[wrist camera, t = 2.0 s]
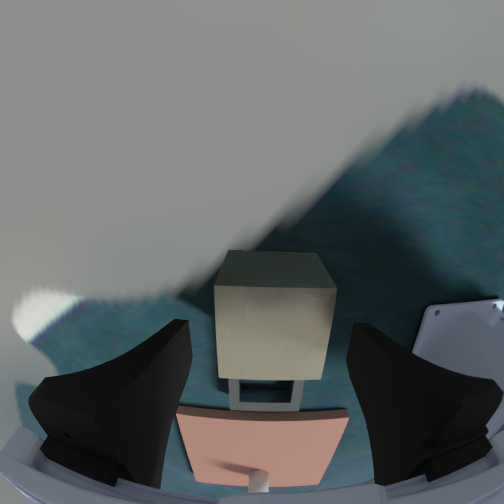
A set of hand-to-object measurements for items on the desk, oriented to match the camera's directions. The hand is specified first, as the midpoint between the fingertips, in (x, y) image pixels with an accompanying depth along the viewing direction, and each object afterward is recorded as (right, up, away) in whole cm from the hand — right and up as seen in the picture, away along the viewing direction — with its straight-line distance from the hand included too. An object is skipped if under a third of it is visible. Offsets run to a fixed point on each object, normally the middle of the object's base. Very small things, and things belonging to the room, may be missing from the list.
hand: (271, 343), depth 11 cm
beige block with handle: (0, -2, +6) cm, 6 cm away
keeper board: (0, -16, +10) cm, 19 cm away
